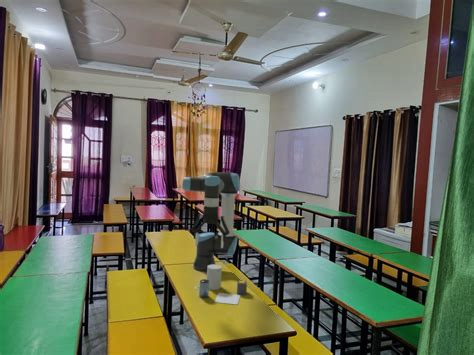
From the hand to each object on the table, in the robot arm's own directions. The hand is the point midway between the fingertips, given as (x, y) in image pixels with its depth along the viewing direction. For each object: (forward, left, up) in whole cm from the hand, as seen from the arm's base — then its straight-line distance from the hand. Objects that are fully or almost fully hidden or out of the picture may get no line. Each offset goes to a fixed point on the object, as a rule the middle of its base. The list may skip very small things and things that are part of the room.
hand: (209, 246), depth 176 cm
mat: (-3, +11, -28) cm, 30 cm away
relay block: (-13, +17, -28) cm, 35 cm away
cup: (-17, 0, -28) cm, 33 cm away
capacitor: (-3, -2, -28) cm, 28 cm away
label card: (-13, -7, -28) cm, 32 cm away
